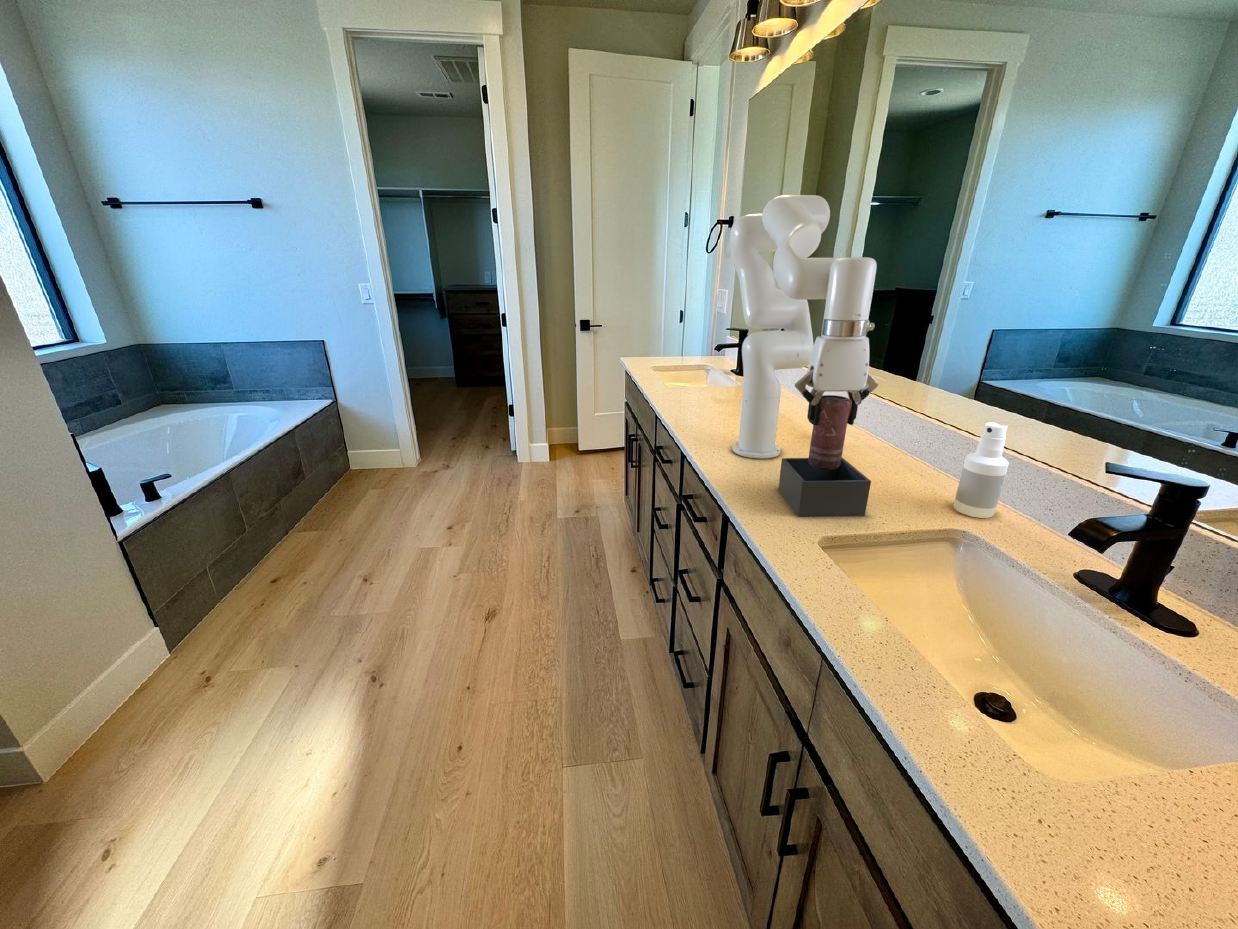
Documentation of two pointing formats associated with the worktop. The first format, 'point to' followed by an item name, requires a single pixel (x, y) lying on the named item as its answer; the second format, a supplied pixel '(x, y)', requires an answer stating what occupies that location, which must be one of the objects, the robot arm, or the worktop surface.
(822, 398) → the can
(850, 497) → the bin
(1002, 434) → the spray bottle
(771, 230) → the robot arm
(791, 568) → the worktop surface
